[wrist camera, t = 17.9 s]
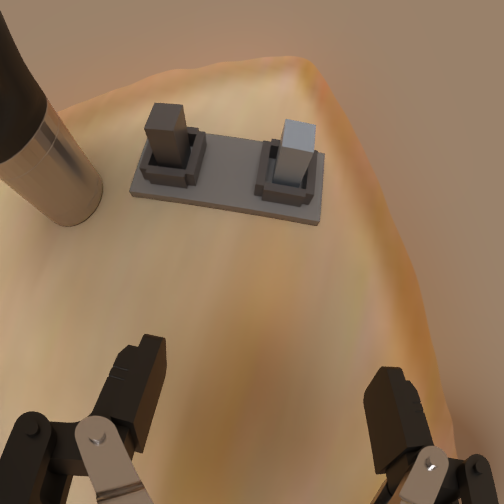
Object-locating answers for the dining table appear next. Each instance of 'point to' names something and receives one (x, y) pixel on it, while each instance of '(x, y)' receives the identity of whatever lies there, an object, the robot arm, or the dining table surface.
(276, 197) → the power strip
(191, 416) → the dining table surface
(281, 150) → the plug
